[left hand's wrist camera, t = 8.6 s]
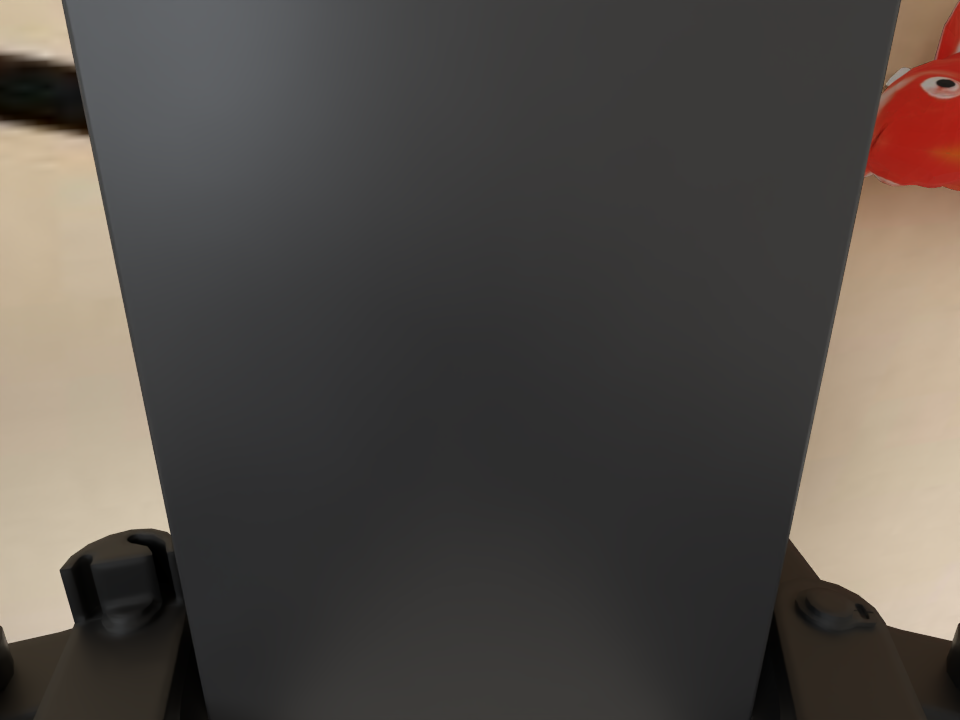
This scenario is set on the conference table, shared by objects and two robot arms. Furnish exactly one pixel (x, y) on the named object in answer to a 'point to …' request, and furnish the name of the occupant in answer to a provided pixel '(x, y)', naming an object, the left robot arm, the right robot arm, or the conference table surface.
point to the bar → (480, 334)
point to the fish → (921, 120)
